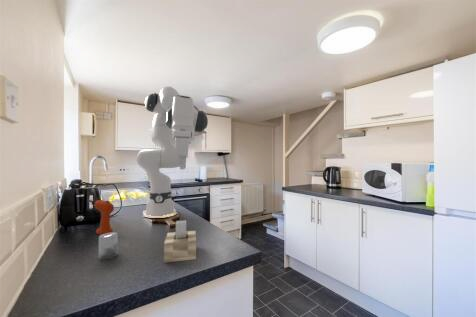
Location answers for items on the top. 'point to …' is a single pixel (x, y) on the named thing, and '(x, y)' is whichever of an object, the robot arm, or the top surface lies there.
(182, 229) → the square bit
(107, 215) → the toy drill
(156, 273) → the top surface
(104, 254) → the round bit
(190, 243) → the socket block
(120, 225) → the top surface
